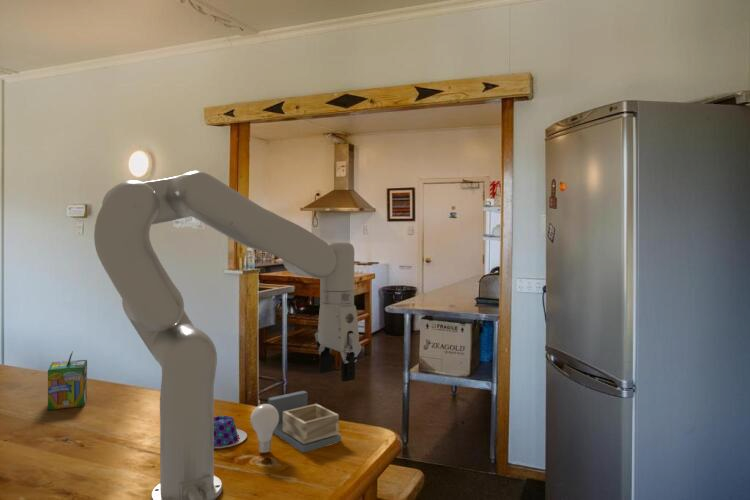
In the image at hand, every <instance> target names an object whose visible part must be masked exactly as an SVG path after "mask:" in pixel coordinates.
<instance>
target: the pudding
mask: <svg viewBox="0 0 750 500" xmlns="http://www.w3.org/2000/svg"><path fill="white" fill-rule="evenodd" d="M238 435H239V436H238ZM247 437H248V435H247V433H246V431H243V430H241V429H238V428H237V426H236V422H235V419H234V417H232V416H228V415H218V416H215V417H214V449H223V448H224V449H225V448H229V447H232V446H236V445H238V444H241V443H242V442H244V441H245V440H246V439H247ZM239 438H240V439H239ZM238 440H239V441H238ZM235 441H236V442H235Z"/></svg>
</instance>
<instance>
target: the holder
mask: <svg viewBox="0 0 750 500" xmlns="http://www.w3.org/2000/svg"><path fill="white" fill-rule="evenodd" d="M339 425H340V415H339V413H336V412H334V411H332V410H330V409H328V408H326V407H324V406H322V405H320V404H318V403H314V404H307V406H304V407H299V408H295V409H291V410H287V411H283V431H284V432H286V433H287V434H289V435H290V436H292V437H293V438H295V439H297V440H298V441H300V442H301V443H303V444H306V443H309V442H313V441H316V440H320V439H323V438H327V437H330V436H334V435H337V434H339V435H340V432H339V431H340V430H339Z"/></svg>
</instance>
